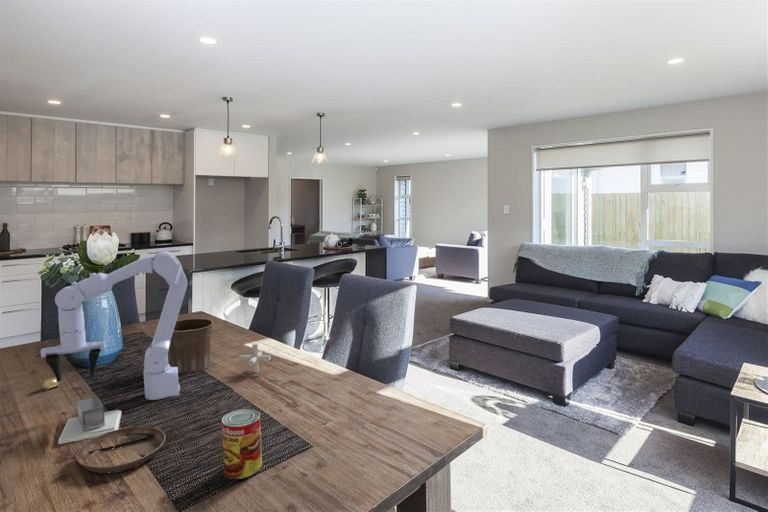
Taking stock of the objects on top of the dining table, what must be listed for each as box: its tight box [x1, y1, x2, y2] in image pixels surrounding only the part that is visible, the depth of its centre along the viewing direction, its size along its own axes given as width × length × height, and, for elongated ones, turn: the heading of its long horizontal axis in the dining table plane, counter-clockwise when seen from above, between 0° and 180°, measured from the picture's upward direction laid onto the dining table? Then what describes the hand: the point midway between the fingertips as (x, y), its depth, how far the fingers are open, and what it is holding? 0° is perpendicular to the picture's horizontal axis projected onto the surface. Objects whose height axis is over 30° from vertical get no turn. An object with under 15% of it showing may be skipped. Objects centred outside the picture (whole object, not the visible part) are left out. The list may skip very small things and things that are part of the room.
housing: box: [76, 396, 105, 431], centre depth 113 cm, size 9×4×5 cm, turn 42°
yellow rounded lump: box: [43, 377, 60, 390], centre depth 142 cm, size 3×3×3 cm
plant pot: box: [168, 318, 214, 375], centre depth 158 cm, size 16×16×16 cm
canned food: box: [221, 408, 263, 478], centre depth 97 cm, size 8×8×12 cm
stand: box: [57, 409, 122, 445], centre depth 114 cm, size 12×12×2 cm
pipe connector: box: [239, 342, 272, 374], centre depth 154 cm, size 10×10×10 cm
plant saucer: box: [75, 426, 166, 474], centre depth 103 cm, size 18×18×3 cm
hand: (76, 377), depth 124 cm, fingers open, 7 cm apart
